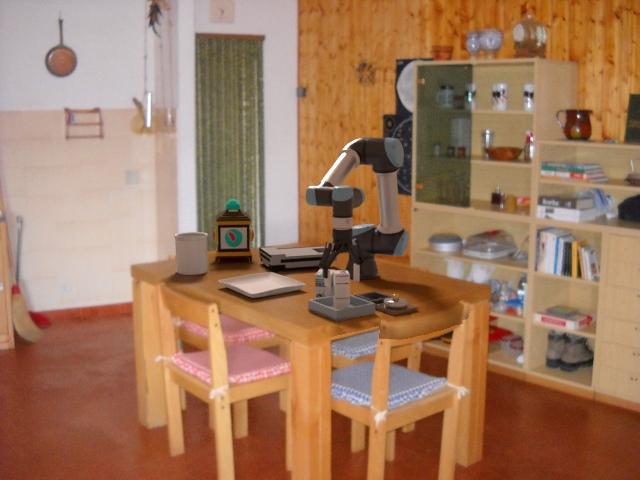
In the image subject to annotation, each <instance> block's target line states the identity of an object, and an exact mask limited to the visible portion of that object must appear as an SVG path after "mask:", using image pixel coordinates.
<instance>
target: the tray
mask: <svg viewBox="0 0 640 480" xmlns="http://www.w3.org/2000/svg"><path fill="white" fill-rule="evenodd" d="M307 310H308V311H309V312H311V313H315V314H316V315H319V316H321V315H322V316H321V317H324V318H326V317H327V318H326V319H329V320H331V319H332V321H334V322H342V321H346V319H347V320H350V318H352V319H356V318H355V317H357V318H361V317H360V316H362V317H366V316H372V315H376V309H375V303H373V302H370V301H367V300H364V299H361V298H358V297H355V296H354V295H352V294H350V307H349V308H344V309H339V310H336V309H334V295H333V296H328V297H322V298H316V299H315V298H311V299H308V300H307Z"/></svg>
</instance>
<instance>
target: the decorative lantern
mask: <svg viewBox="0 0 640 480" xmlns="http://www.w3.org/2000/svg"><path fill="white" fill-rule="evenodd" d="M215 224H216V226H217V228H216V229H214V230H213V232H212V239H213V242H215V243H217V246H216V249H215V262H216V264H219V263H220V259H231V258H248V263H250V264H251V263H252V262H253V255H252V250H251V247H250V242H253V241H254V239H255V237H254V236H255V234H254V230H253V228H250V226H251V224H252V218H251V215H250V214H249V213H248V212H246V211H244V210H243V209H241V204H240V202H239V201H238V200H237V199H235V198H232V199H230V200H228V201H227V203H226V205H225V209H224V210H223V211H220V212H218V213H217V214H216V215H215Z"/></svg>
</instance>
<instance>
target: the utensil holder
mask: <svg viewBox="0 0 640 480" xmlns="http://www.w3.org/2000/svg"><path fill="white" fill-rule="evenodd" d="M208 236H209V234H208V233H207V232H201V231H186V232H185V231H184V232H177V233H175V234H174V239H175V258H176V259H175V262H176V273H177V274H180V275H183V276H184V275H185V276H197V275H202V274H206V273H207V272H208Z"/></svg>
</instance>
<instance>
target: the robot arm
mask: <svg viewBox="0 0 640 480" xmlns="http://www.w3.org/2000/svg"><path fill="white" fill-rule="evenodd" d="M404 157H405V152H404V146H403V145H402V142H401V140H399V139H398V138H395V137H394V138H393V137H373V136H372V137H370V136H369V137H368V136H367V137H366V136H363V137H359V138H356V139H354V140H352V141H350V142H349V143H347V144H346V145H345V146H344V147H343V148H342V149H341V150H340V151H339V153H338V155H337V159H336V160H335V162H334V163H333V164H332V165H331V167H330V168H329V170H328V171H327V172H326V174H325V175H324V176H323V178H322V179H321V180H320V181H319V183H318V184H317V185H310V186H308V187H307V189H306V191H305V201H306V204H307V205H309V206H316V207H329V208H330V207H331V208H332V219H331V221H332V222H331V223H332V224H331V225H332V231H331V235H332V236H331V237H332V242H325V246H324V247H325V250H324V253H323V255H322V258H321V260H320V263H319V265H318V267H319V268H321V269H323V278H324V286H326V287H330V270H331V269H330V267H331V266H332V264H333V263H334V262H335V261H334V260H335V258H336V257H337V258H338V256H339V255H340V254H344V253H345V254H346V253H347V254H348V260H347V264H346V267H345V269H344V270H347V271H348V272H349V274H350V279H353V282H355V283H360V280H371V279H376V278H378V277H379V269H378V266H377V262H376V257H375V256H376V255H380V256H389V257H390V256H391V257H402V256H404V255H405V253H407V249H408V246H409V240H410V231H409V230H406V229H405V226H404V224H403V223H402V221H401V219H400V203H399V189H398V176H397V174H398V173H397V172H399V171H400V168H401V167H402V166H403V164H404V161H405V159H404ZM359 166H371V171H372V172H373V173H374V174H375V176H376V178H375V179H376V188H377V198H378V200H377V201H378V213H379V224H378V225H377V226H376V224H375V223H364V224H357V225H354V226H353V223H354V222H353V220H354V209H356V208H359V207H361V205H363V204H364V203H365V200H366V193H365V191H364V190H363V189H362V188H360V187H357V186H350V185H344V182H345V181H346V179H347V178H348V177H349V175H350V174H351V172H352V171H353V170H355V169H357V168H358V167H359ZM330 253H331V254H330Z"/></svg>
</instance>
